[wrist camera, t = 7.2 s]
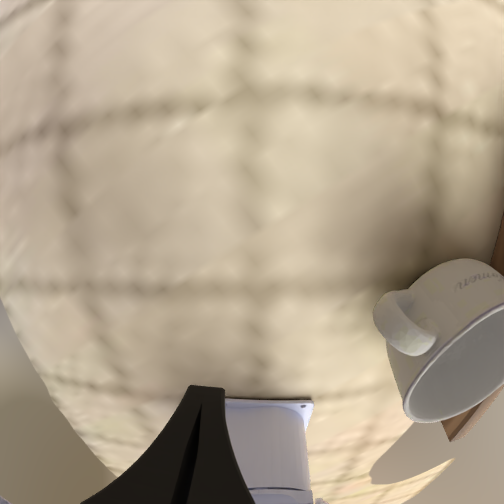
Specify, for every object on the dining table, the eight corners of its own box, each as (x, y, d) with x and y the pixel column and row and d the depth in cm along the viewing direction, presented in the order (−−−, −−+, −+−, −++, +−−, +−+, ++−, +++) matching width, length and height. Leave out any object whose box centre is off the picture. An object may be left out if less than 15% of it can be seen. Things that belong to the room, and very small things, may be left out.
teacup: (496, 290, 19) (547, 342, 12) (414, 372, 23) (444, 438, 15) (419, 181, 16) (501, 222, 9) (311, 302, 20) (333, 392, 12)
